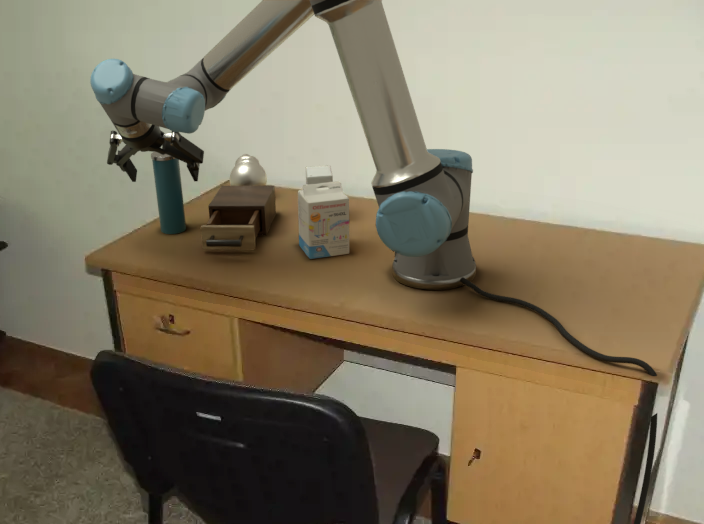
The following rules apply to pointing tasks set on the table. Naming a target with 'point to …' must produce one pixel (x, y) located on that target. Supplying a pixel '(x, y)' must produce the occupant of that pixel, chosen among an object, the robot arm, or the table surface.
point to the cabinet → (247, 202)
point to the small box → (318, 175)
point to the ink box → (323, 220)
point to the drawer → (232, 229)
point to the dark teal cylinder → (169, 193)
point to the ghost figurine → (248, 172)
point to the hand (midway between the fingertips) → (165, 175)
